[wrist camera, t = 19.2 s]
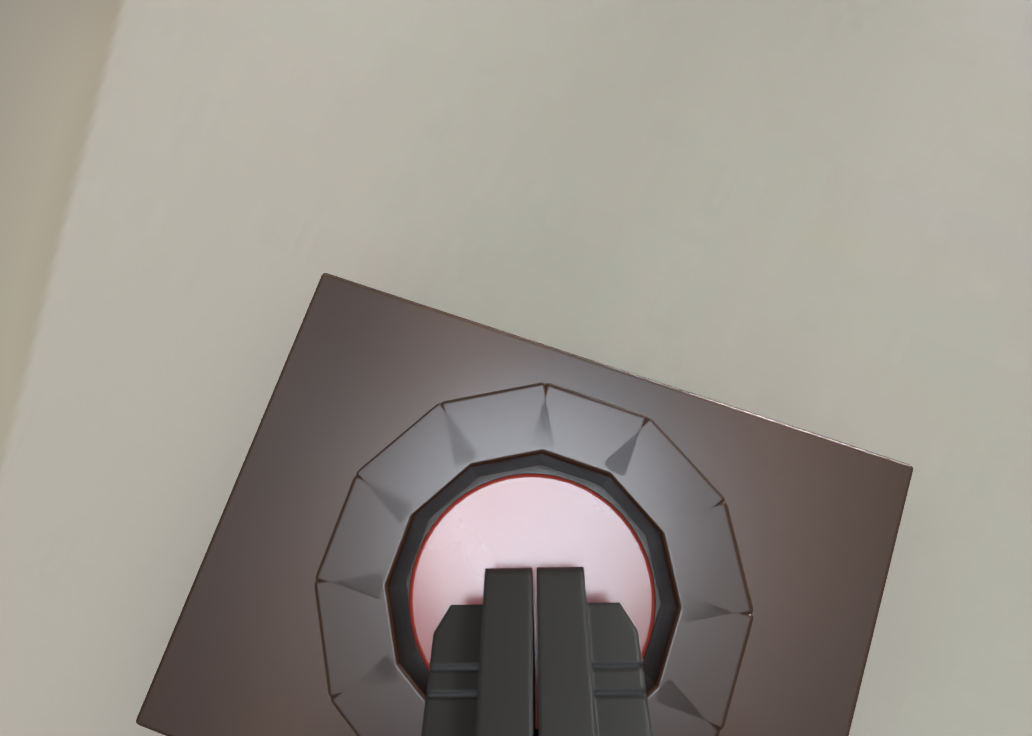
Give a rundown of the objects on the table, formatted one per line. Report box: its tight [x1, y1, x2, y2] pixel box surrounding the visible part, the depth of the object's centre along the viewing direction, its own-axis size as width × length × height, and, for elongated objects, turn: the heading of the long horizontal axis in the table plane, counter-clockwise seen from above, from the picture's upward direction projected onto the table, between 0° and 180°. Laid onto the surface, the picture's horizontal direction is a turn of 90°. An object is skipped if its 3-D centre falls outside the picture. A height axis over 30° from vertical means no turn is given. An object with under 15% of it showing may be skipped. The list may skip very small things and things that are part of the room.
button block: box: [136, 273, 913, 736], centre depth 15 cm, size 12×9×4 cm
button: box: [409, 474, 656, 730], centre depth 14 cm, size 4×4×2 cm
